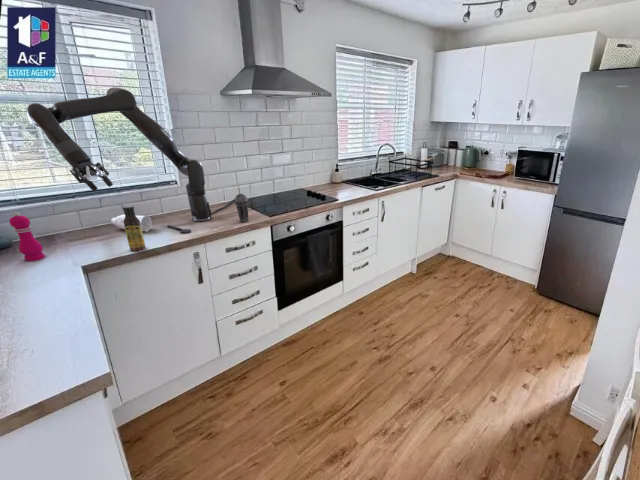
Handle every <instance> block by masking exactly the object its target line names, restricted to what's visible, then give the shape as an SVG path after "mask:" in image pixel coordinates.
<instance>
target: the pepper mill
mask: <svg viewBox="0 0 640 480" xmlns="http://www.w3.org/2000/svg"><path fill="white" fill-rule="evenodd" d="M9 224H10V226H11V227H13V228H14V229H13V230H14V231H15V233H17V235H18V238H19V243H18V250H19V252H20V253H21V254H22V255H24V256H23V257H24V260H25V261H27V262H36V261H40V260H43V259H45V258H46V256H45V253H44V252H43V250H44V247H43V245H42V244H41V242H39V241H38V240H37V239H36V238H35V237H34V235H33V233H32V231H33V230H32V227H31V226H30V225H31V220H30V219H29V218H28V217H27V216H25V215H21V214H20V212H18V211H15V212H13V216H12V217H10V218H9Z"/></svg>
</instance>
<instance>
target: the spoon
mask: <svg viewBox="0 0 640 480" xmlns="http://www.w3.org/2000/svg"><path fill="white" fill-rule="evenodd" d="M167 228H169V229H174V230H176V231H179V233H180V234H183V235H184V234H189V233H191V232H192V231H191V229H189V228H181V227H178V226H174V225H171V224H167Z"/></svg>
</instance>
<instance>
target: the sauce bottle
mask: <svg viewBox="0 0 640 480" xmlns="http://www.w3.org/2000/svg"><path fill="white" fill-rule="evenodd" d="M122 210H123V212H124V215H125V219H124V226H125V230H124V231H125V235H126V239H127V244H128V247H129V250H130V251H131V252H140V251H144V250H145V249H146V243H145V242H146V241H145V237H144V234H143V233H144V232H143V231H142V229H141V225H140V221H139V219H138V218H137V217H136V216H135V215H136V213H135V207H134V205H123V206H122Z"/></svg>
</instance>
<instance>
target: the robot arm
mask: <svg viewBox="0 0 640 480" xmlns="http://www.w3.org/2000/svg"><path fill="white" fill-rule="evenodd" d="M137 104H138V102H137V98H136V96H135V95H134V94H133V92H131V91H129V90H128V89H125V88H122V87H116V86H115V87H110V88H108V89H107V90H106V95H102V96H96V97H86V98H85V97H84V98H83V97H81V98H72V99H67V100H61V101H57V102H54V103H53V105H52V106H50V107H47V106H45V105H43V104H41V103H37V102H33V103H32V102H31V103H30V104H28V106H27V108H26V113H27V119H28V121H29V122H30V124H32V125H33V126H35V127H36V128H39V129H41V130H42V131H43V133H44V135H45V137H46V139H47V140H48V141H49V142H50V143H51V144H52V146H54V148H55V149H56V150H57V152H58V153H59V154H60V155H61V156H62V158H64V160H65V161H66V162H67V163H68V164H69V165H70V166H71V167H72V168H71V169H69V173H70V174H71V175H72V176H73V177H74V178H75V179H76V181H77V182H78V183H79V184H85V185H86V186H87V187H89V189H90V190H91V191H93V192H96V191H97V190H98V189H99V188H98V186H97V185H96V184H95V183H94V182H93V181H92V180H91V177H97V178H99V179H101V180H102V181H103V182H104V183H105V185H106V186H107V187H109V188H111V187H112V186H113V185H114V183H113V182H112V181H111V179H110V178H109V175H110V172H109V171H108V170H107V169H106V168H105V167H104V166H103V165H102V164H101V163H100V162H97V163H93V162H92V161H91V157H90V156H89V155H88V154H87V153H86V152H85V150H84V149H83V148H82V147H81V146H80V144H78V143H77V142H76V141H75V140H74V139H73V138H72V136H71V135H69V133H68V132H67V131H66V130H65V129H64V127H63V126H62V125H61V124H62V123H65V122H68V121H73V120H77V119H82V118H86V117H91V116H95V115H96V116H97V115H99V114H106V113H117V112H119V113H120V114H121V115H122V116H124V117H125V118H126V119H127V120H128V121H129V122H130V123H131V124H132V125H133V126H134V127H135V128H136V129H137V130H138V131H139V132H140V133H141V134H142V135H143V136H144V137H145V138H146V139H147V140H148V141H149V142H150V143H151V144H152V145H153V147H155V148H157V149H158V150H159V151H160V152H161V153H162V154H163V155H164V157H166V158H167V159H169V160H170V162H171V163H172V164H173V165H174V166H175V167H176V169H177V170H178V171H179V173H181V174H182V175H184V176H186V177H187V179H188V183H186V184H185V190H186V195H187V200H188V204H189V209H190V213H191V220H192V222H206V221H209V220H211V219H212V215H213V214H216V213H218V212H219V211H221V210H224V209H225V208H227V207H229V206H230V205H231V204H232V203H233V202H235V198H234V199H232V200H230V201H229V203H227V204H226V205H224V206H223V207H220V208H218V209H215V210H214V211H213V212H212V210H211V207H210V202H209V201H208V199H207V193H206V188H205V184H206V180H205V171H204V167H203V165H202V162H200V161H199V160H197V159H192V158H188V157H187V156H186V155H185V154H184V153H183V152H182V151H181V150H180V149H179V148H178V146H177V144H176V143H175V140H174V139H173V137H172V135H170V133H169V132H168V131H167V130H166V129H165V128H164V127H163V126H162V125H161V124H160V123H158V122H157V121H156V120H154V119H153V118H152V117H150V116H149V115H147V114H146V113H145V112H143V110H142V109H140V107H139V106H138V105H137Z"/></svg>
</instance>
